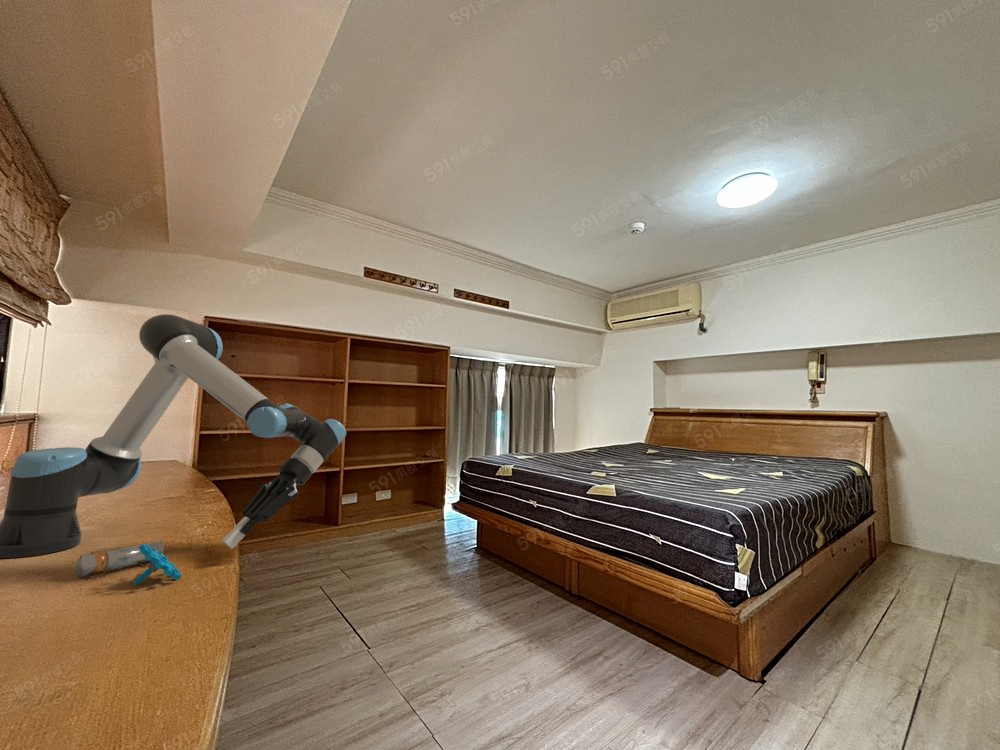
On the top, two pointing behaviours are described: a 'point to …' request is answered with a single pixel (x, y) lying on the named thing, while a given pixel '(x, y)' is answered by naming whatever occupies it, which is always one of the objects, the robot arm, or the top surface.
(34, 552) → the robot arm
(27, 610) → the top surface
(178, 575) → the gear
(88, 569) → the guide pipe
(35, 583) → the top surface
